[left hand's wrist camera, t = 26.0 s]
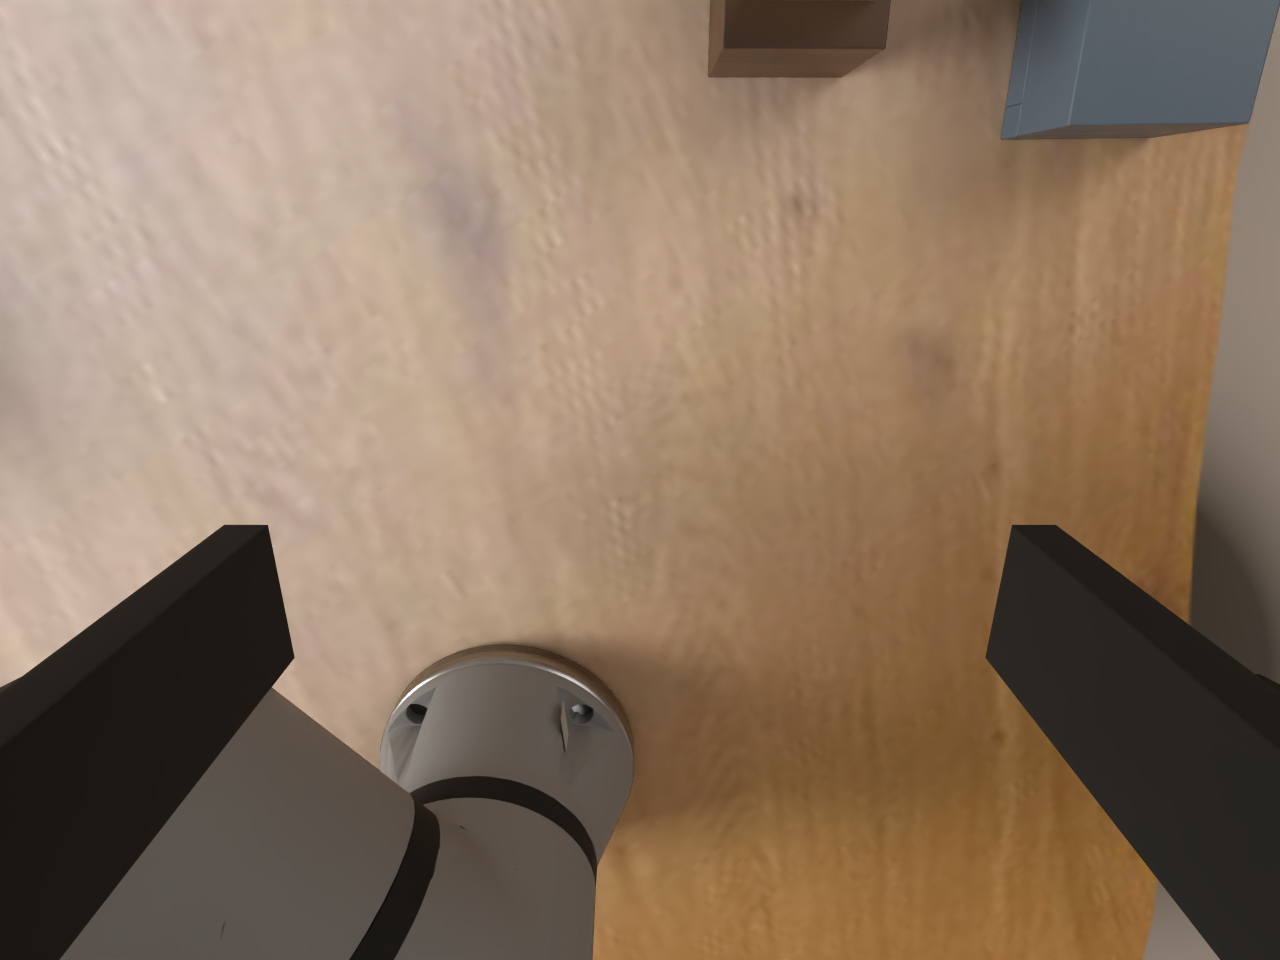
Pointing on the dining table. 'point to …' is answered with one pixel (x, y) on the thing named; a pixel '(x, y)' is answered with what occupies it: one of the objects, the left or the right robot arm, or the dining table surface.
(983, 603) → the dining table surface
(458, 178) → the dining table surface
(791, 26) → the stand
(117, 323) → the dining table surface
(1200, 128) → the slate blue cube
